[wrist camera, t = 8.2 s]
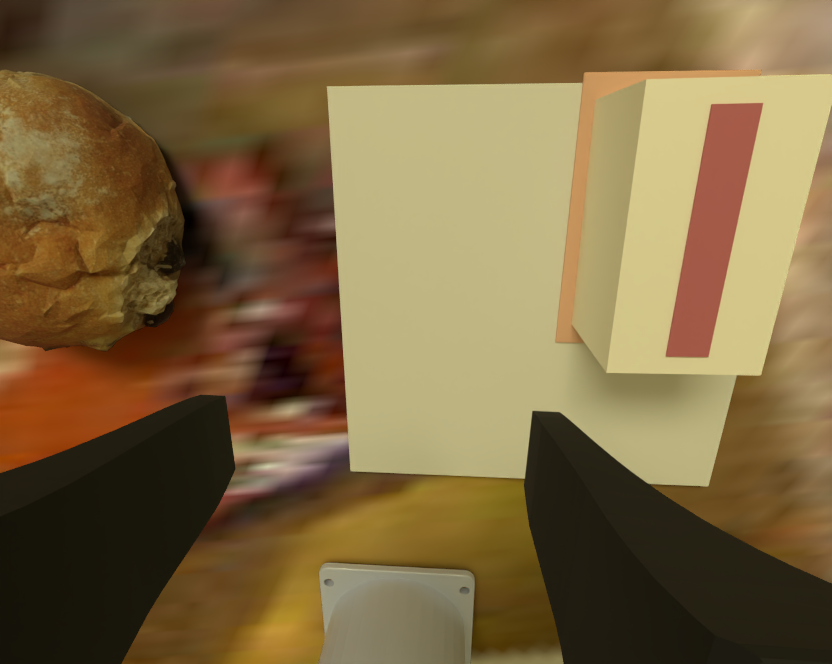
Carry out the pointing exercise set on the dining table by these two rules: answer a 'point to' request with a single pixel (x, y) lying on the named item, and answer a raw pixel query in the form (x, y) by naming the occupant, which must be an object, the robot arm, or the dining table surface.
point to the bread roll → (81, 218)
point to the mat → (487, 285)
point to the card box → (694, 219)
